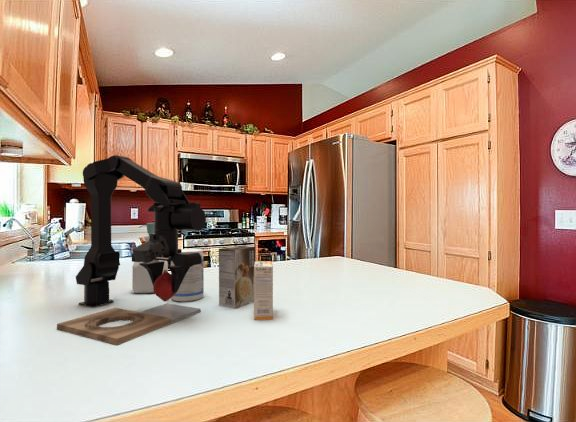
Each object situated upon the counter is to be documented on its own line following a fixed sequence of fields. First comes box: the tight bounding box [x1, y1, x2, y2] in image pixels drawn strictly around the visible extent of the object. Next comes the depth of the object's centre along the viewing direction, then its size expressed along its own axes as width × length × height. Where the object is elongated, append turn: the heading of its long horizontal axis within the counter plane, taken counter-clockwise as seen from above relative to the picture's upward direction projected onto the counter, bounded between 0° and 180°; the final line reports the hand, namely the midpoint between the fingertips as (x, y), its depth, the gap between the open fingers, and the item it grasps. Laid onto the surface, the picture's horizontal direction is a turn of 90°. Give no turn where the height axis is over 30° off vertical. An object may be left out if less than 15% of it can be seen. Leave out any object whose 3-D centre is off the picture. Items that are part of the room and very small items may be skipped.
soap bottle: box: [131, 222, 169, 294], centre depth 108 cm, size 10×10×23 cm
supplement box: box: [253, 260, 274, 321], centre depth 82 cm, size 8×5×13 cm, turn 5°
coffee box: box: [218, 245, 256, 309], centre depth 93 cm, size 9×6×16 cm
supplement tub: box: [170, 248, 205, 303], centre depth 98 cm, size 10×10×15 cm
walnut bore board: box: [56, 307, 173, 346], centre depth 73 cm, size 20×14×1 cm
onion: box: [153, 270, 175, 303], centre depth 82 cm, size 6×6×8 cm
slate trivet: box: [140, 302, 202, 324], centre depth 81 cm, size 12×12×1 cm
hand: (165, 291), depth 82 cm, fingers closed on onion, 6 cm apart
